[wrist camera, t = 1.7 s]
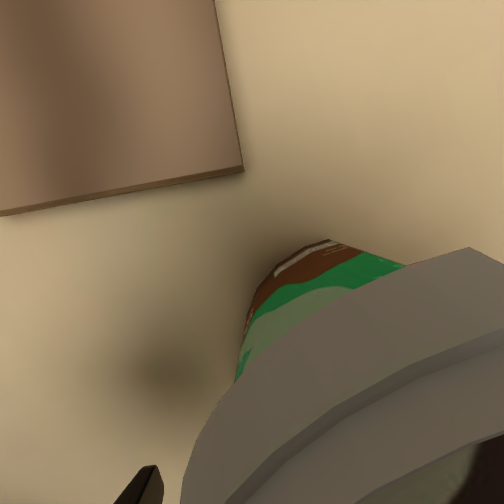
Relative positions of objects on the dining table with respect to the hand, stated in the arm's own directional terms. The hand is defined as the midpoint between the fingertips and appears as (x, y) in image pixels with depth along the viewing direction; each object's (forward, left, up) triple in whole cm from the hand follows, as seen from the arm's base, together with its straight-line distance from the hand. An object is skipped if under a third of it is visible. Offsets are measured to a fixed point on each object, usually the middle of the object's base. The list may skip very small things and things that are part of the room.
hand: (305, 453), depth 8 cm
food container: (0, 0, -6) cm, 6 cm away
